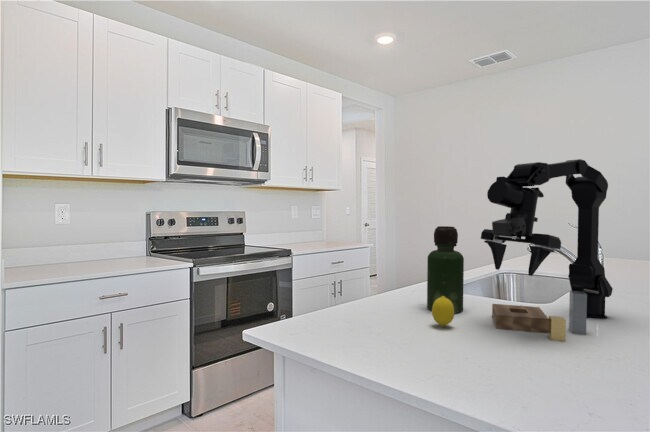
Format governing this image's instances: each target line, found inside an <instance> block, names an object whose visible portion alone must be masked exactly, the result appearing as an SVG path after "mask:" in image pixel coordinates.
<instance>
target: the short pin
mask: <svg viewBox="0 0 650 432" xmlns="http://www.w3.org/2000/svg"><path fill="white" fill-rule="evenodd" d="M548 319H549V324H548V333H547V335H548V338H549V340H550V341H555V340H557V342H566V340H567V339H566V336H567V335H566V331H567V330H566V329H567V328H566V327H567V320H566V318H565V317H563V316H560V315H559V316H557V315H548Z"/></svg>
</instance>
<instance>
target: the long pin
mask: <svg viewBox="0 0 650 432" xmlns="http://www.w3.org/2000/svg"><path fill="white" fill-rule="evenodd" d="M568 309H569V313H568V315H569V316H568V318H569V319H568V331H569V332H570V333H571V334H575V335H587V317H586V316H587V294H586V293H585V292H582V291H572V290H569V308H568Z"/></svg>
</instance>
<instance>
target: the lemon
mask: <svg viewBox="0 0 650 432" xmlns="http://www.w3.org/2000/svg"><path fill="white" fill-rule="evenodd" d="M431 314H432V315H431V316H432V317H433V320H434V321H435V323H436V324H438V325H440V326H441V327H442V328H445V326H447V325H449V324H451V323H452V322H453V320H454V318H455V313H454V307H453V304H452V302H451V301H450V300H449V299H447V298H445V296H442V297H441V298H438V299H437V300H435V302H434V304H433V307H432V310H431Z"/></svg>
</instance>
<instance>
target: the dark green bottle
mask: <svg viewBox="0 0 650 432" xmlns="http://www.w3.org/2000/svg"><path fill="white" fill-rule="evenodd" d="M458 236H459V233H458V230H457V228H455V226H450V225H449V226H448V225H447V226H443V225H441V226H436V228H435V229H434V232H433V243H434V246H436V248H437V249H435V250H432V251H431V252H430V253H428V256H427V263H426V264H427V267H426V268H427V269H426V270H427V271H426V273H427V274H426V275H427V277H426V278H427V280H426V281H427V282H426V283H427V284H426V287H427V288H426V290H427V291H426V308H427V309H428V310H430V311H432V307H433V304H434V302H435V300H437V299H438V298H441V297H442V296H445V298H447V299H449V300H450V301H451V302H452V304H453V307H454V314H457V313H461V312H462V311H463V310H464V280H465V279H464V278H465V277H464V273H465V272H464V271H465V270H464V269H465V268H464V266H465V261H464V260H465V258H464V256H463V254H462V253H461V252H460V251H458V250H454V248H455V247H457V245H458V242H459V241H458V238H459V237H458Z"/></svg>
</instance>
